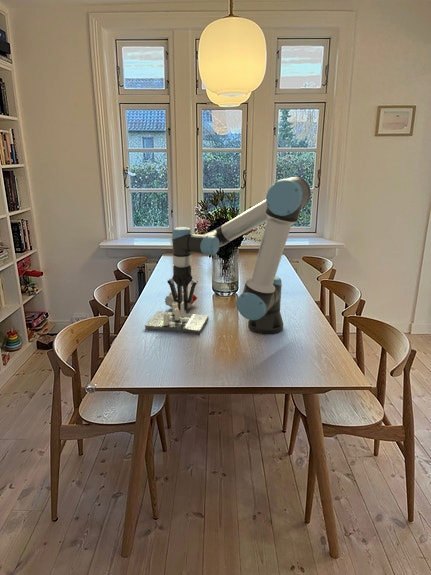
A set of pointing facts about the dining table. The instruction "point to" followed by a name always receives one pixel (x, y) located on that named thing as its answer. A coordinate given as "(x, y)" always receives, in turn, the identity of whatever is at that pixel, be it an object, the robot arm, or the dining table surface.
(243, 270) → the dining table surface
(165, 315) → the breaker near
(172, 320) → the panel
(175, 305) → the breaker far
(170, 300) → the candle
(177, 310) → the breaker mid
